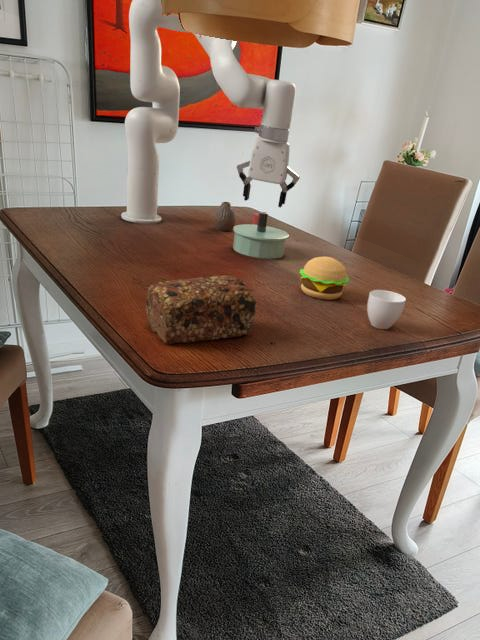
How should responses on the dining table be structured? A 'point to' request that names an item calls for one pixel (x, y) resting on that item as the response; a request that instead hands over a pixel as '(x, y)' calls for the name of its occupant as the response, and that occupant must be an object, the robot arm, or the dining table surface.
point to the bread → (200, 309)
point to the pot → (258, 247)
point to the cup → (384, 308)
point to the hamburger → (324, 278)
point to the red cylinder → (255, 218)
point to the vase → (224, 217)
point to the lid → (261, 230)
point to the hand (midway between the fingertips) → (263, 203)
